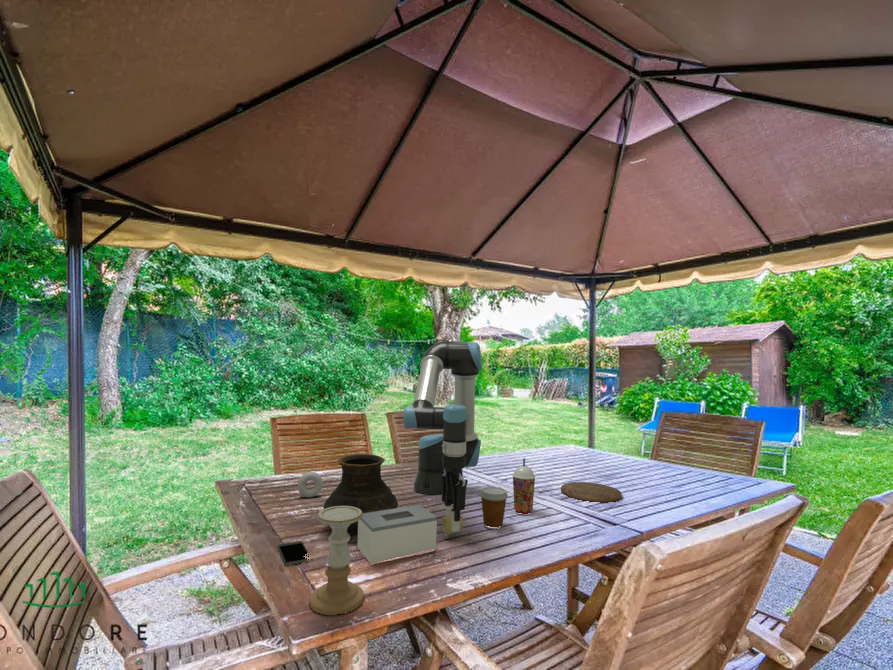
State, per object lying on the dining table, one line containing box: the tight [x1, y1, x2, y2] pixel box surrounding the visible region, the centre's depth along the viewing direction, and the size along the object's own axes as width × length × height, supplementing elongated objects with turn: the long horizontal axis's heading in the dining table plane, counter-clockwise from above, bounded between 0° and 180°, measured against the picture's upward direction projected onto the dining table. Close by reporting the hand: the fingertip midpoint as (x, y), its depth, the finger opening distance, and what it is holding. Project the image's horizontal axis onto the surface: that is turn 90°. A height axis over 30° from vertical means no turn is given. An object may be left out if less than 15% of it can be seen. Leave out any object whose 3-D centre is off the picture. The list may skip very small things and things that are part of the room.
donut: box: [296, 471, 324, 498], centre depth 178 cm, size 10×4×10 cm, turn 109°
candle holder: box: [309, 506, 365, 616], centre depth 104 cm, size 12×12×20 cm
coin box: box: [356, 504, 438, 564], centre depth 131 cm, size 20×12×10 cm, turn 119°
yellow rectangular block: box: [441, 515, 464, 535], centre depth 141 cm, size 6×3×4 cm, turn 120°
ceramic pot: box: [323, 453, 399, 533], centre depth 148 cm, size 24×24×22 cm
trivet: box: [560, 481, 623, 504], centre depth 192 cm, size 25×25×2 cm
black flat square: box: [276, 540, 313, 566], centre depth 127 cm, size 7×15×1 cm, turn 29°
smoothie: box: [512, 457, 536, 514], centre depth 166 cm, size 8×8×20 cm
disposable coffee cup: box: [479, 486, 509, 527], centre depth 152 cm, size 10×10×12 cm
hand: (452, 528), depth 141 cm, fingers closed on yellow rectangular block, 3 cm apart
